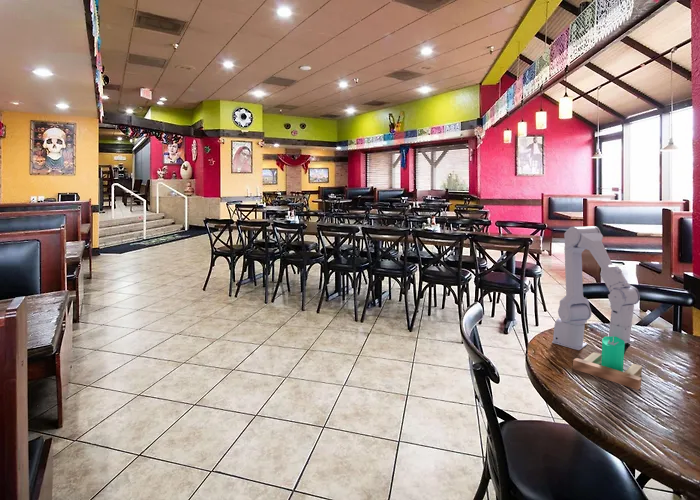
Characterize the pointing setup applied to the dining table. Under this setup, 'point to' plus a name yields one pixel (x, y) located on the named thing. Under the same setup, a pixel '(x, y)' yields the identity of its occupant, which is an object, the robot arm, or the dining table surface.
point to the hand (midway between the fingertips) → (616, 363)
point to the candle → (613, 353)
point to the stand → (609, 371)
